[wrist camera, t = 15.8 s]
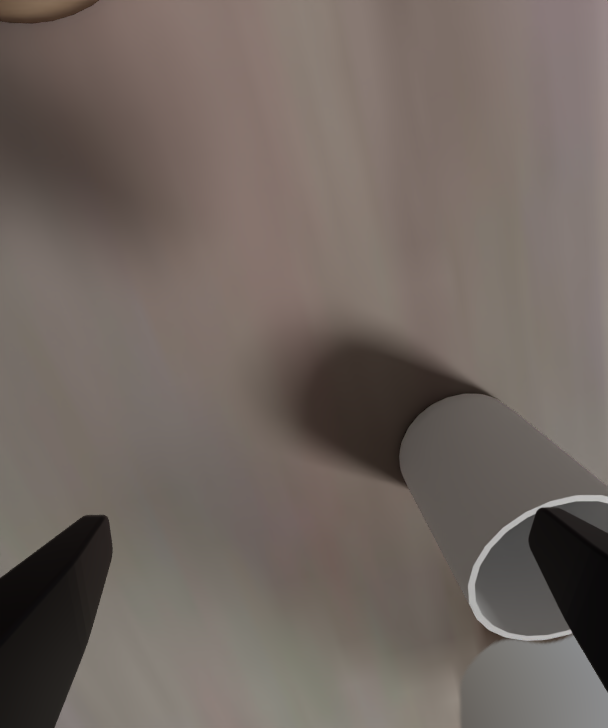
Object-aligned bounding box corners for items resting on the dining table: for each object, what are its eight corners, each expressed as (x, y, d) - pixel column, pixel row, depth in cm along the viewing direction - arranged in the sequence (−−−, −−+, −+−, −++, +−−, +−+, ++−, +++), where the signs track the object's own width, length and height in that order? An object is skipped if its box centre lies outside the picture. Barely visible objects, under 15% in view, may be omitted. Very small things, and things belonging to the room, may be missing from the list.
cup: (463, 364, 22) (584, 458, 14) (568, 462, 25) (718, 587, 17) (370, 455, 24) (428, 590, 15) (478, 538, 27) (577, 688, 18)
